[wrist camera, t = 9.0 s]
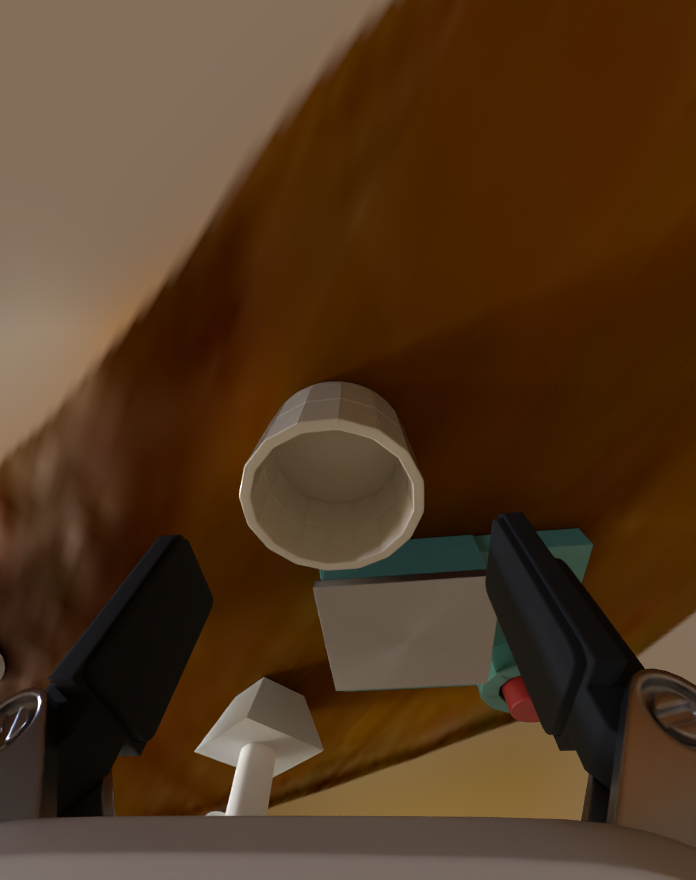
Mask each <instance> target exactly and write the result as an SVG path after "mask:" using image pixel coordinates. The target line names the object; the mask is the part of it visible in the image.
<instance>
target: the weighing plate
mask: <svg viewBox="0 0 696 880" xmlns="http://www.w3.org/2000/svg"><path fill="white" fill-rule="evenodd" d="M486 571H487V564H486V562H485V560H484V558H483V556H482V554H481V552H480V550H479V548H478V546H477V544H476V542H475V540H474V537H473V535H461V536H448V537H434V538H421V539H409V540H408V541H407V542H405V543H404V544H403V545H402V546H401V547H399V548H398V549H397V550H396V551H395V552H394V553H392V554H391V555H390V556H389V557H387V558H385V559H382V560H379V561H377V562H374V563H372V564H369V565H366V566H364V567H361V568H357V569H343V570H329V571H328V570H323V580H320V581H314V582H313V591H314V596H315V600H316V605H317V609H318V614H319V618H320V622H321V627H322V631H323V636H324V640H325V645H326V649H327V653H328V658H329V662H330V667H331V671H332V676H333V680H334V684H335V689H336V691H347V690H368V689H389V688H409V687H430V686H451V685H472V684H487V683H488V677H489V670H490V663H491V656H492V650H493V643H494V636H495V629H496V622H497V617H496V614H495V612H494V609H493V607H492V604H491V602H490V600H489V597H488V595H487V591H486V586H485V580H486Z"/></svg>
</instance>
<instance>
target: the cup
mask: <svg viewBox="0 0 696 880" xmlns="http://www.w3.org/2000/svg"><path fill="white" fill-rule="evenodd" d="M239 498H240V502H241V505H242V508H243V511H244V514H245V517H246V521H247V524H248V526H249V527H250V528H251V529H252V531H253V532H254V533H255V534H256V535H257V536H258V537H259V539H260V540H261V541H262V542H263V543H264V544H265V545H266V547H267V548H269V549H270V550H272V551H274V552H275V553H277V554H279V555H281V556H282V557H284V558H286V559H288V560H290V561H291V562H293V563H296V564H299V565H303V566H308V567H313V568H317V569H322V570H328V571H329V570H343V569H357V568H361V567H364V566H366V565H369V564H372V563H374V562H377V561H379V560H382V559H385V558H387V557H389V556H390V555H391V554H392V553H394V552H395V551H396V550H397V549H398V548H399V547H401V546H402V545H403V544H404V543H405V542H407V541H408V540H409V539H410V538H411V537H412V535H413V533H414V531H415V529H416V527H417V525H418V523H419V521H420V519H421V517H422V515H423V513H424V479H423V477H422V474H421V471H420V469H419V466H418V463H417V461H416V458H415V455H414V452H413V450H412V447H411V444H410V442H409V439H408V436H407V434H406V431H405V429H404V428H403V426H402V423H401V421H400V419H399V417H398V415H397V413H396V412H395V410H394V409H393V408H392V406H391V405H390V404H389V403H388V402H387V401H386V400H385V399H384V398H383V397H381V396H380V395H378V394H377V393H375V392H374V391H372V390H370V389H368V388H366V387H363V386H360V385H358V384H353V383H349V382H339V381H335V382H324V383H318V384H315V385H312V386H309V387H307V388H305V389H302V390H300V391H299V392H297V393H296V394H294V395H293V396H292V397H290V398H289V399H288V400H287V401H286V402H285V403H284V404H283V405H282V407H281V408H280V409H279V411H278V412H277V414H276V415H275V417H274V418H273V419H272V421H271V422H270V424H269V425H268V427H267V429H266V431H265V432H264V434H263V436H262V437H261V439H260V441H259V442H258V444H257V446H256V447H255V449H254V451H253V452H252V454H251V456H250V457H249V459H248V461H247V462H246V464H245V466H244V470H243V476H242V482H241V487H240V493H239Z"/></svg>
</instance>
